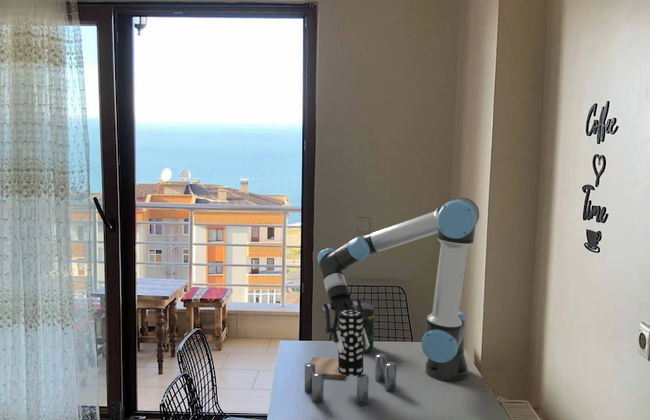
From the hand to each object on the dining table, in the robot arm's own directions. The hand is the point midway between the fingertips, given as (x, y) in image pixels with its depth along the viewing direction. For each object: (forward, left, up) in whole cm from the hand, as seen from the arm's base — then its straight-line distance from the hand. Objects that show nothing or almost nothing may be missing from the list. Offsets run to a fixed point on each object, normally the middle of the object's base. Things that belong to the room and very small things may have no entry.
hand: (354, 349), depth 176 cm
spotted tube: (+2, -3, -9) cm, 10 cm away
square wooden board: (+12, -19, -16) cm, 27 cm away
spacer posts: (+1, -3, -16) cm, 16 cm away
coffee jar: (+1, -42, -16) cm, 45 cm away
